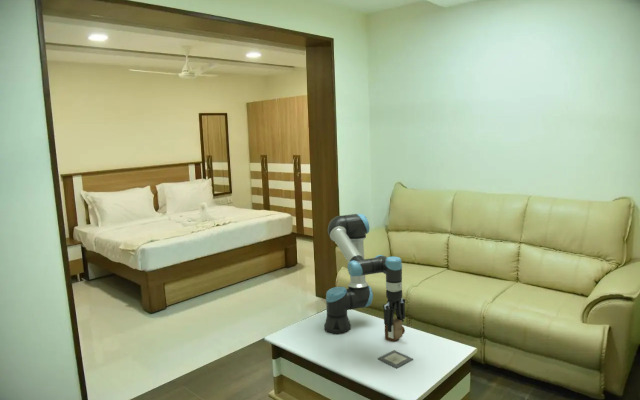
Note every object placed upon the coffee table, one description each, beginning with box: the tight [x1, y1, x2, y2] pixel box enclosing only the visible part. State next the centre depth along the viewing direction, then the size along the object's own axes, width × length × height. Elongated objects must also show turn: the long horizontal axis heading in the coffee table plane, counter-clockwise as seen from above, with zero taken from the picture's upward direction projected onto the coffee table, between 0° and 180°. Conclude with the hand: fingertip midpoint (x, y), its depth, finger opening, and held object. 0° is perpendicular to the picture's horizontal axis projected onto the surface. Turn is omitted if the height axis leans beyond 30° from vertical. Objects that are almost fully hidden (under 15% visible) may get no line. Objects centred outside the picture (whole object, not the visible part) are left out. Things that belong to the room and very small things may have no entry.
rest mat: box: [377, 349, 414, 369], centre depth 215 cm, size 12×12×1 cm
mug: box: [384, 324, 406, 342], centre depth 235 cm, size 12×8×9 cm, turn 43°
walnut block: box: [387, 317, 403, 340], centre depth 213 cm, size 5×5×8 cm
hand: (394, 335), depth 213 cm, fingers closed on walnut block, 5 cm apart
